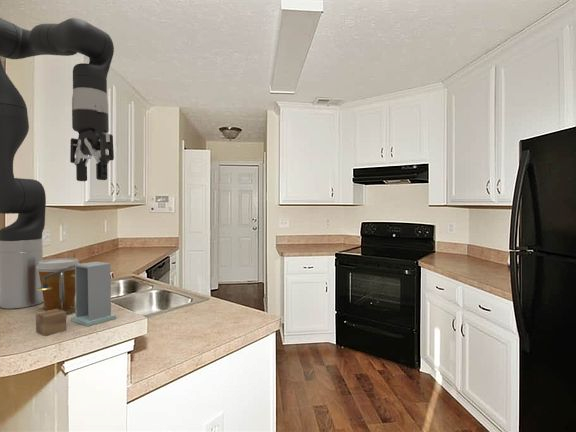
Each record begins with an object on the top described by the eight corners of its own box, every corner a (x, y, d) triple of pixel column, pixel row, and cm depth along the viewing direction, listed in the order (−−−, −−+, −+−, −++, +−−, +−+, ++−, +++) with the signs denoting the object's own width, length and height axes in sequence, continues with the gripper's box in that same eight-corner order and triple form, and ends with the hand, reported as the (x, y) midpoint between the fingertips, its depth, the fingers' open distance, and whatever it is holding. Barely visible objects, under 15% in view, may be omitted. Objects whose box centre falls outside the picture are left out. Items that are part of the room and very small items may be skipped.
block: (36, 332, 74) (35, 313, 74) (57, 327, 77) (56, 308, 77) (45, 336, 72) (44, 316, 71) (66, 330, 75) (66, 311, 75)
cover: (75, 316, 81) (74, 264, 81) (97, 311, 85) (96, 261, 85) (89, 321, 78) (88, 266, 78) (111, 315, 82) (110, 263, 82)
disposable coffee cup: (72, 300, 99) (72, 256, 98) (87, 306, 93) (86, 260, 92) (31, 307, 91) (30, 261, 91) (44, 314, 85) (43, 265, 85)
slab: (71, 320, 81) (70, 317, 81) (99, 313, 86) (98, 310, 86) (87, 326, 77) (87, 322, 77) (116, 318, 83) (116, 314, 83)
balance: (33, 317, 83) (32, 268, 83) (80, 306, 92) (79, 262, 92) (41, 320, 81) (40, 269, 81) (88, 309, 90) (88, 263, 90)
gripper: (58, 112, 85) (59, 180, 85) (91, 103, 77) (92, 178, 78) (89, 118, 91) (90, 182, 91) (123, 110, 83) (124, 180, 84)
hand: (91, 180), depth 84 cm, fingers open, 8 cm apart
